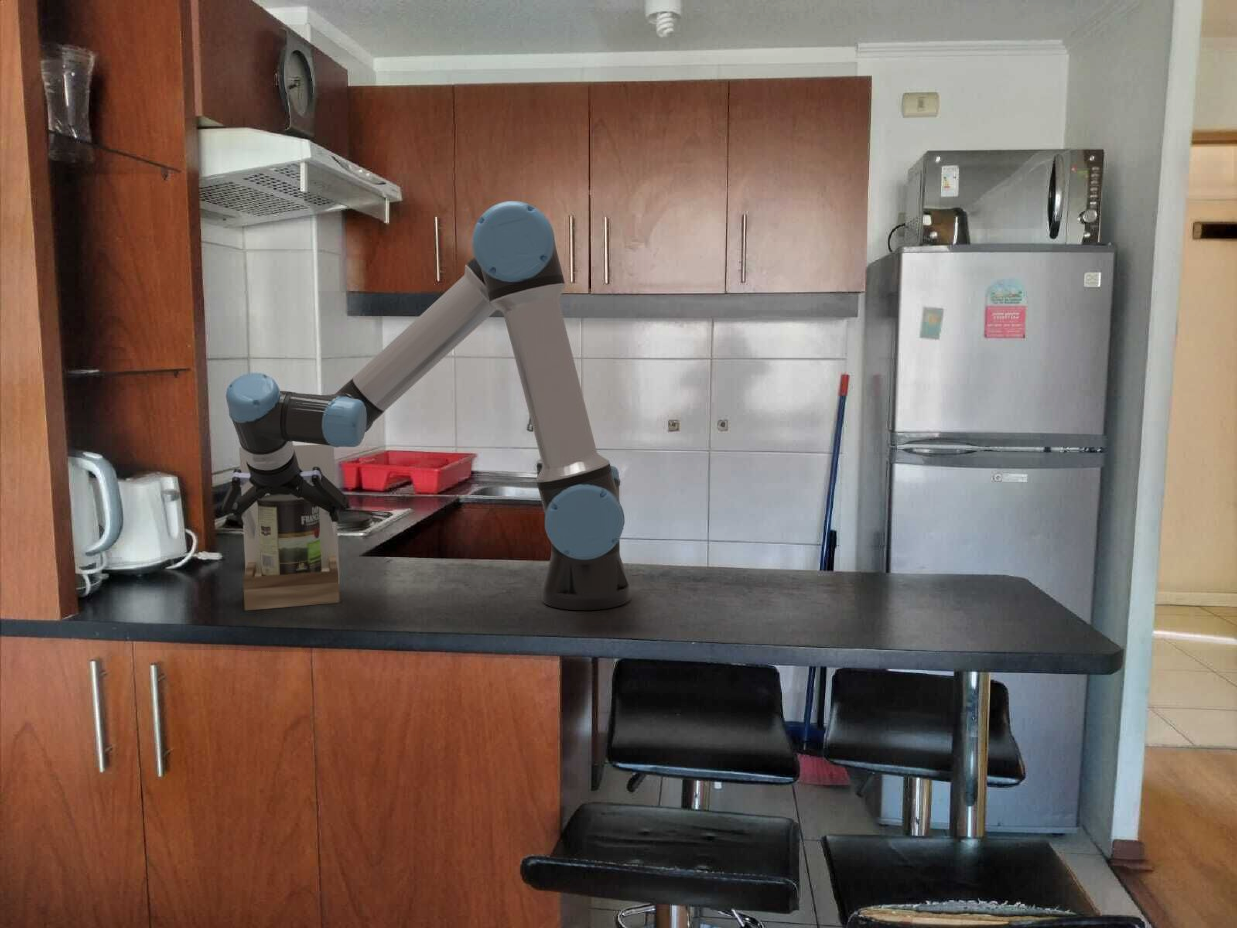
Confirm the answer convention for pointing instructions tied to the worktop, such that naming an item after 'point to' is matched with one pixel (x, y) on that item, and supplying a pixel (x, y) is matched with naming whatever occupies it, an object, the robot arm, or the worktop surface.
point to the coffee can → (288, 535)
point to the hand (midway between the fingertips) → (293, 531)
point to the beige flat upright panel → (306, 460)
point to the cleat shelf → (290, 588)
